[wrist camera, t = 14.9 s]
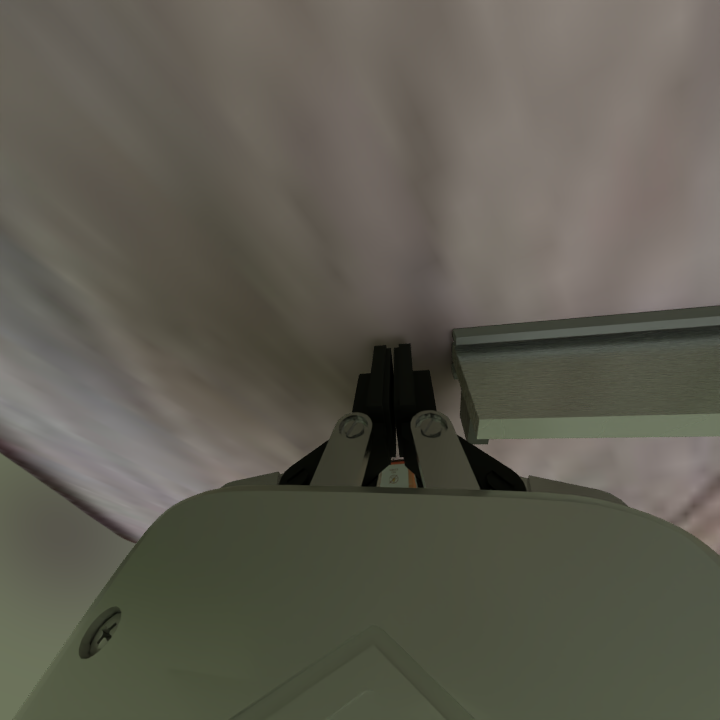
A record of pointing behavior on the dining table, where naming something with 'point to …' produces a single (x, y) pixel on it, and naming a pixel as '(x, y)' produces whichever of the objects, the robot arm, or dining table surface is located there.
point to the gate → (592, 386)
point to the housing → (588, 326)
